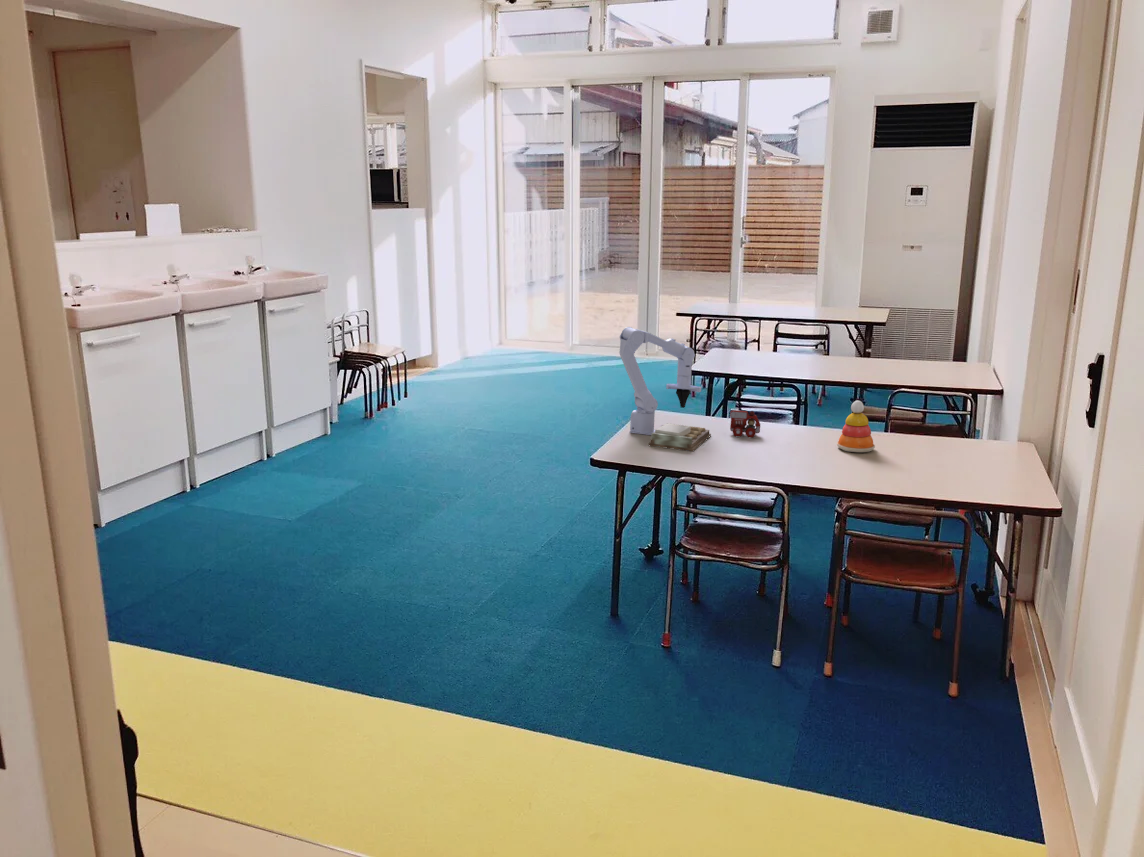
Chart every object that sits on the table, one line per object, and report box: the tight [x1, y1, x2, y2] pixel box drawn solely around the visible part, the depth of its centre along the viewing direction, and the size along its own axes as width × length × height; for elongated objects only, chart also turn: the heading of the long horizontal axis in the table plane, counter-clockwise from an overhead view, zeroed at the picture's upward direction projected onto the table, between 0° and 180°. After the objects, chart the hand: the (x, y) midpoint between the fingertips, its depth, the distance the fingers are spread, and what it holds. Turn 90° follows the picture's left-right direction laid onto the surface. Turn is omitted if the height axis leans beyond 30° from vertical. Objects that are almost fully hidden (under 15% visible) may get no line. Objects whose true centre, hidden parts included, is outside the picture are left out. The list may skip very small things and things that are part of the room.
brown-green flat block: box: [648, 426, 712, 452], centre depth 356 cm, size 18×25×5 cm
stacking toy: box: [836, 399, 876, 453], centre depth 346 cm, size 14×14×20 cm
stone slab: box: [654, 423, 691, 436], centre depth 353 cm, size 10×12×2 cm
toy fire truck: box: [729, 409, 761, 438], centre depth 365 cm, size 7×12×10 cm, turn 79°
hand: (682, 407), depth 372 cm, fingers closed
